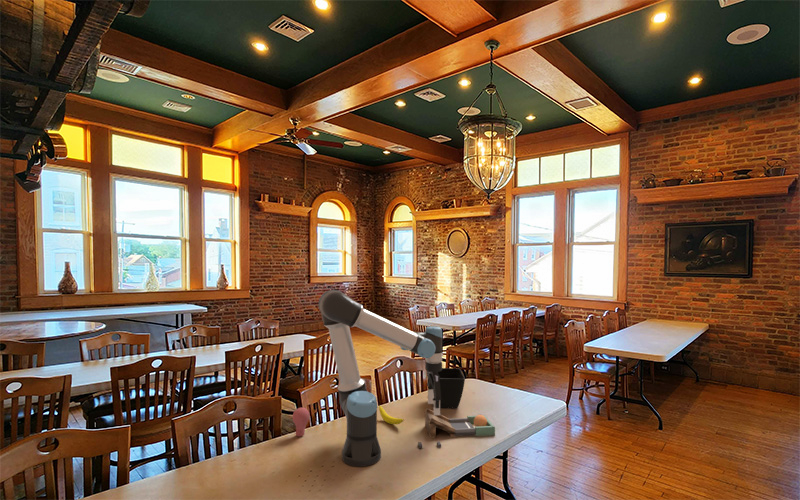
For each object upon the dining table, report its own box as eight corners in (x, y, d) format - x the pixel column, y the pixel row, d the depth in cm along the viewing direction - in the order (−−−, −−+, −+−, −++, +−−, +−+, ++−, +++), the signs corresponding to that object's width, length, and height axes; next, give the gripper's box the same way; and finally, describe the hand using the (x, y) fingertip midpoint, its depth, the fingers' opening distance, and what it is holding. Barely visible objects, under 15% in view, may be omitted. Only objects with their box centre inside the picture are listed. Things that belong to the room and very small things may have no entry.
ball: (474, 421, 173) (486, 415, 173) (470, 416, 179) (481, 410, 179) (479, 433, 173) (491, 427, 173) (475, 428, 179) (486, 422, 179)
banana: (401, 431, 173) (401, 417, 173) (376, 418, 188) (376, 405, 188) (406, 429, 175) (406, 415, 175) (381, 416, 190) (381, 403, 190)
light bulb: (312, 435, 168) (312, 407, 169) (298, 441, 163) (298, 412, 163) (303, 431, 173) (303, 403, 174) (289, 436, 168) (289, 408, 168)
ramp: (429, 437, 167) (429, 418, 168) (424, 425, 179) (424, 408, 179) (456, 436, 169) (456, 417, 169) (450, 424, 181) (450, 407, 181)
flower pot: (465, 411, 197) (465, 378, 198) (428, 411, 197) (428, 377, 198) (460, 398, 216) (460, 368, 217) (426, 398, 216) (426, 367, 217)
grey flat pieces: (419, 448, 157) (419, 445, 157) (418, 445, 160) (418, 442, 160) (441, 447, 158) (441, 444, 158) (439, 444, 161) (439, 441, 161)
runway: (454, 436, 168) (454, 429, 169) (448, 424, 180) (448, 418, 180) (476, 435, 170) (476, 428, 170) (468, 424, 182) (468, 417, 182)
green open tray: (475, 435, 169) (475, 427, 169) (467, 423, 182) (467, 416, 182) (494, 435, 170) (494, 426, 170) (485, 422, 183) (485, 415, 183)
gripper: (448, 368, 163) (448, 419, 162) (436, 354, 187) (436, 399, 187) (430, 369, 162) (430, 420, 161) (421, 355, 187) (420, 399, 186)
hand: (433, 409), depth 174 cm, fingers open, 13 cm apart
